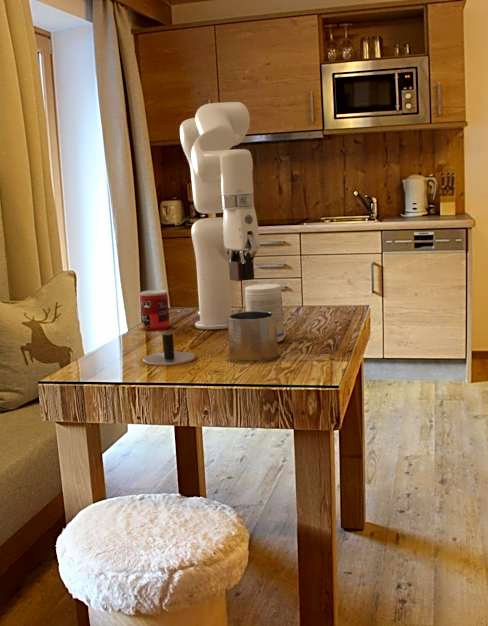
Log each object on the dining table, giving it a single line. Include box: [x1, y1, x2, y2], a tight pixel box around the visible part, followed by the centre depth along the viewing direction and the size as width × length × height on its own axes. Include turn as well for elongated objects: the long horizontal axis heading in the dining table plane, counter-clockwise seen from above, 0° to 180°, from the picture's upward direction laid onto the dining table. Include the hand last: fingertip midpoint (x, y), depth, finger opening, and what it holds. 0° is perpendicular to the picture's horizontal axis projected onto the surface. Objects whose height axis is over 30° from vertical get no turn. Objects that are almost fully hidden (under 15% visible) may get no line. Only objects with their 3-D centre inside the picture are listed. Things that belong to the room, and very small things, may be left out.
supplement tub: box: [244, 283, 285, 343], centre depth 218 cm, size 10×10×15 cm
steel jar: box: [227, 310, 279, 362], centre depth 200 cm, size 12×12×10 cm
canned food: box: [139, 289, 170, 332], centre depth 245 cm, size 8×8×11 cm
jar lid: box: [142, 332, 196, 367], centre depth 202 cm, size 13×13×7 cm
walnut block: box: [228, 260, 255, 282], centre depth 199 cm, size 4×4×4 cm
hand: (242, 277), depth 199 cm, fingers closed on walnut block, 4 cm apart
